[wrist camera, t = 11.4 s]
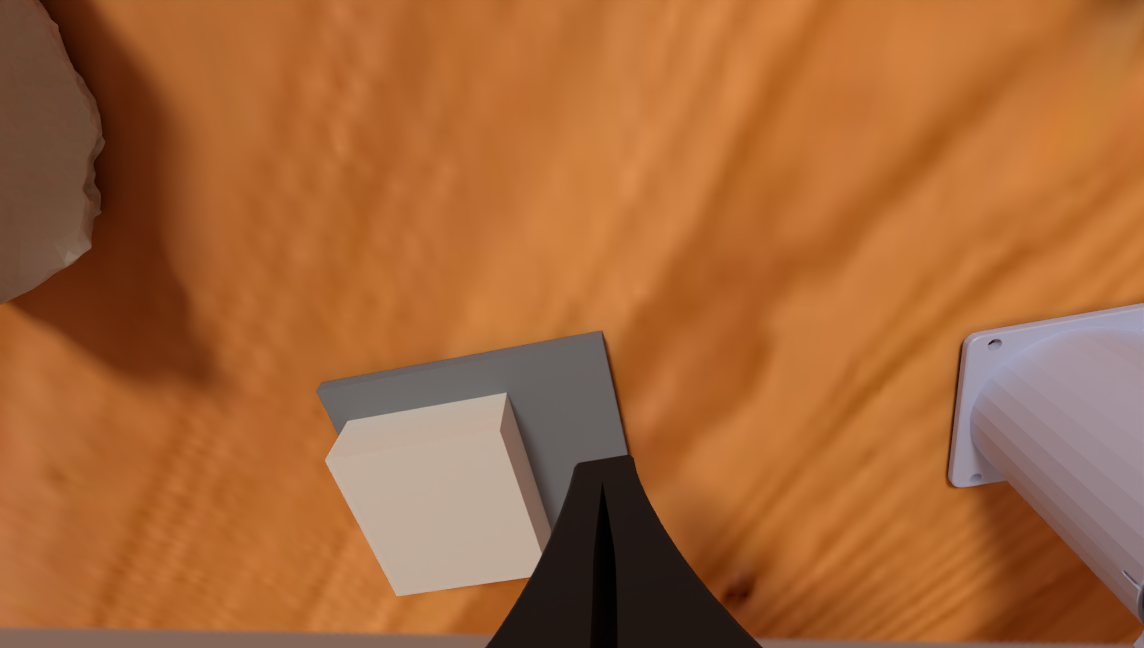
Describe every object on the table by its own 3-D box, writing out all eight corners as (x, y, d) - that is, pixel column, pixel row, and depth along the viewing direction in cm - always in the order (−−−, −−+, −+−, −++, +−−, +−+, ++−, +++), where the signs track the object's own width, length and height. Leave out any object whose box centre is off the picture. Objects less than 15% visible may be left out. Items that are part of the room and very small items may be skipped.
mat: (601, 330, 23) (602, 337, 22) (646, 540, 28) (648, 549, 28) (321, 382, 24) (316, 390, 24) (416, 573, 30) (413, 584, 29)
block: (499, 430, 21) (324, 460, 22) (548, 574, 25) (396, 596, 26) (506, 392, 24) (347, 421, 24) (550, 529, 27) (411, 550, 28)
